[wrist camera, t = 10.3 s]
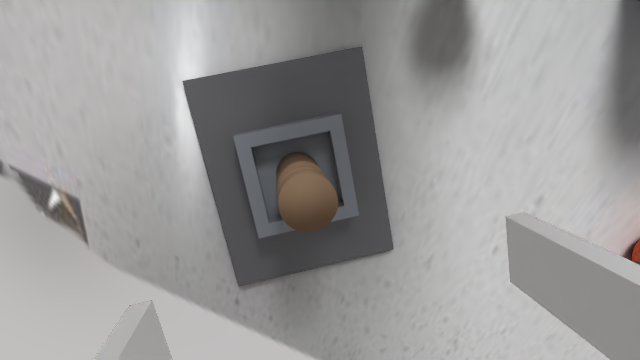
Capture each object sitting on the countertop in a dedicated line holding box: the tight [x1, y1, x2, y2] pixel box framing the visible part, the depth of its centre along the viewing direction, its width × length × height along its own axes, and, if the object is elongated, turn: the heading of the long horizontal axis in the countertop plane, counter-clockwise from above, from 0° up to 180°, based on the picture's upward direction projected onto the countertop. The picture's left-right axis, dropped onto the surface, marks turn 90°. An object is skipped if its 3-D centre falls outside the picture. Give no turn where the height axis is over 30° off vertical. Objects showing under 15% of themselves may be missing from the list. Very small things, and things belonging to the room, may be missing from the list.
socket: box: [183, 47, 393, 286], centre depth 34 cm, size 20×16×3 cm
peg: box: [276, 152, 338, 232], centre depth 29 cm, size 4×4×10 cm
